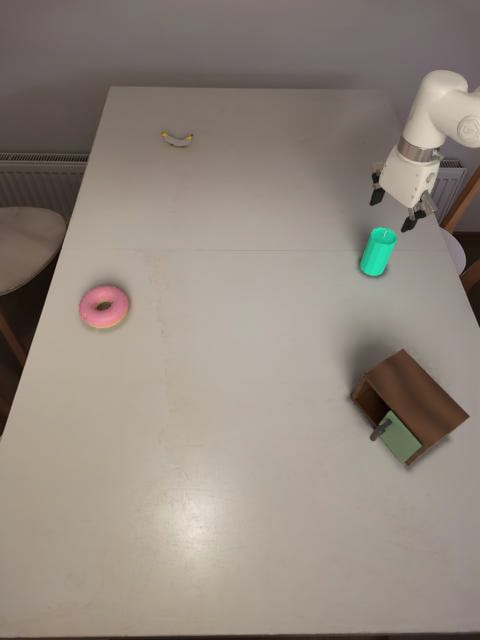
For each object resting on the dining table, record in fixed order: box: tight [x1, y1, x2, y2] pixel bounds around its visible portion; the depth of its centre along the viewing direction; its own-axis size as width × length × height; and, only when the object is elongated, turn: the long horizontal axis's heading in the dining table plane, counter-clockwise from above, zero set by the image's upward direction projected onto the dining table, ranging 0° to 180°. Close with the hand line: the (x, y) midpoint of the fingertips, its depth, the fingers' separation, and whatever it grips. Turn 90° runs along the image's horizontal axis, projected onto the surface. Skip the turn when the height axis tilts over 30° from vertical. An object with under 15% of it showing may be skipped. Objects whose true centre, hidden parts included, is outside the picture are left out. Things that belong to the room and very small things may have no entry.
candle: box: [359, 226, 398, 277], centre depth 102 cm, size 6×6×12 cm
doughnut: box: [77, 284, 130, 329], centre depth 96 cm, size 11×11×4 cm
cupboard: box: [350, 348, 471, 467], centre depth 80 cm, size 10×16×10 cm, turn 33°
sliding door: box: [368, 410, 422, 464], centre depth 76 cm, size 4×7×9 cm, turn 33°
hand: (390, 216), depth 94 cm, fingers open, 9 cm apart
